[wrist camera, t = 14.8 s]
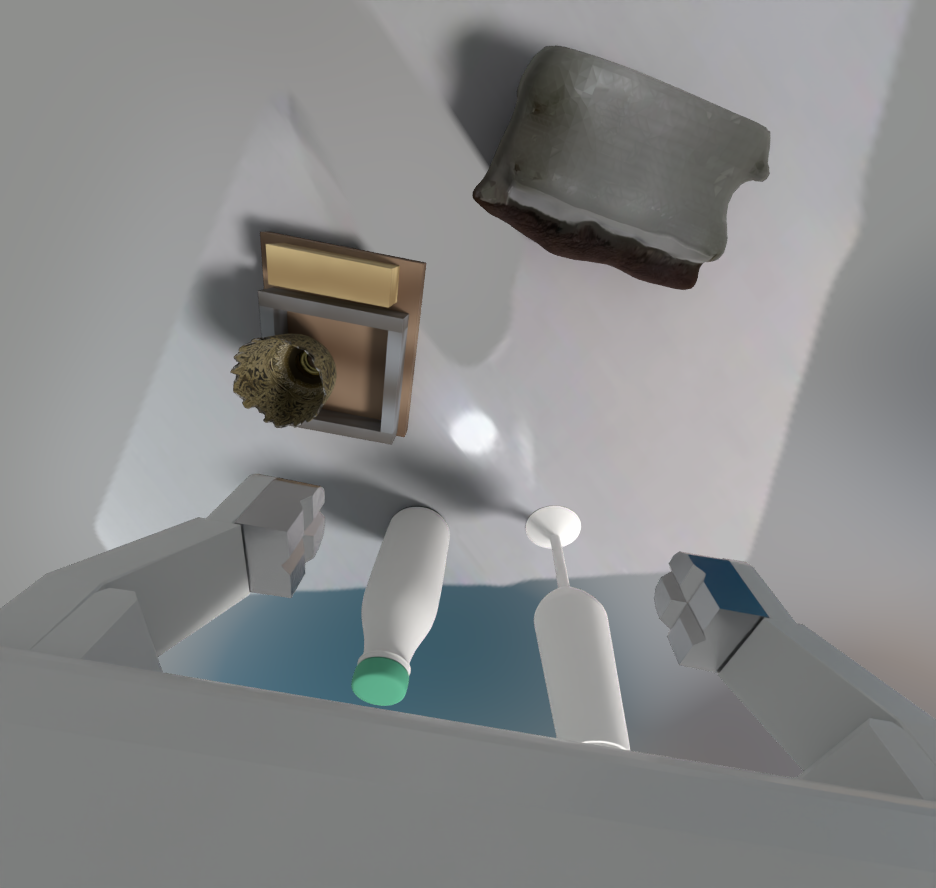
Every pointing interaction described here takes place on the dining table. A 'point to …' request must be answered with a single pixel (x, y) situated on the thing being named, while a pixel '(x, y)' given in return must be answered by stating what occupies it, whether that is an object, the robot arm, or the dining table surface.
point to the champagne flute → (576, 645)
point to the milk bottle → (400, 602)
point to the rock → (620, 168)
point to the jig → (348, 327)
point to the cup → (284, 378)
